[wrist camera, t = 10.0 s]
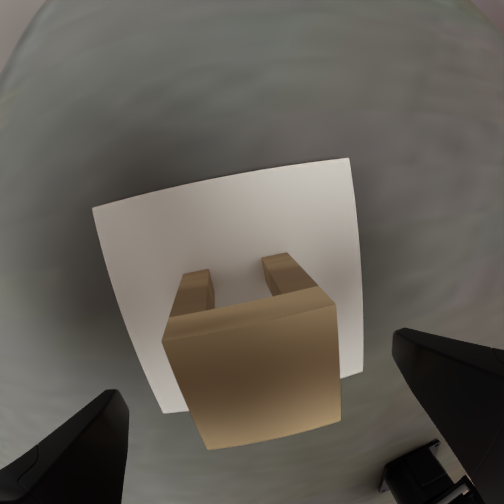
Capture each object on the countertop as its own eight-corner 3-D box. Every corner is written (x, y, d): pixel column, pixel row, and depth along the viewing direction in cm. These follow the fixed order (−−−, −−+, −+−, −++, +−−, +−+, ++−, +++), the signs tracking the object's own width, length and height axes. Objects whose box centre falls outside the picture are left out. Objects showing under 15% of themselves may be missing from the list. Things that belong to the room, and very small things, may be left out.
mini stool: (300, 341, 15) (340, 420, 9) (208, 360, 15) (208, 450, 9) (287, 252, 14) (336, 304, 8) (183, 274, 13) (161, 341, 8)
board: (356, 362, 17) (362, 371, 16) (165, 402, 16) (163, 413, 15) (340, 159, 14) (348, 157, 13) (99, 206, 13) (91, 208, 12)
